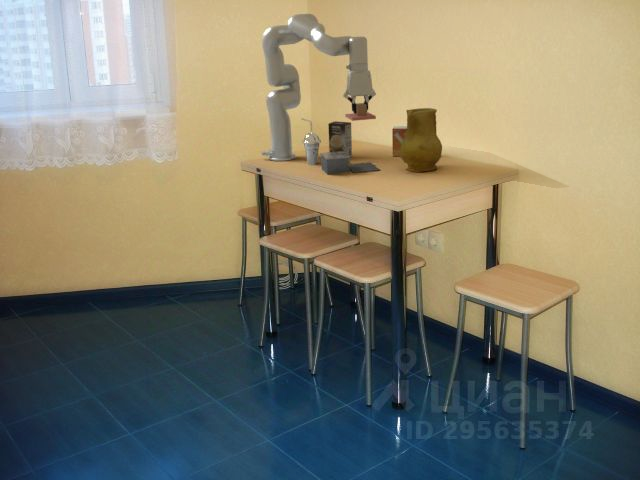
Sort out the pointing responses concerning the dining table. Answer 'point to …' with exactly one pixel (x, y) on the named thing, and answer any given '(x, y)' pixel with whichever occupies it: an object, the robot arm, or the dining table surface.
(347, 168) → the tin
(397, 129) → the small box
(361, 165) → the mat
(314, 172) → the dining table surface
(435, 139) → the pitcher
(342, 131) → the coffee box
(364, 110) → the lid
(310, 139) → the cup with straw
